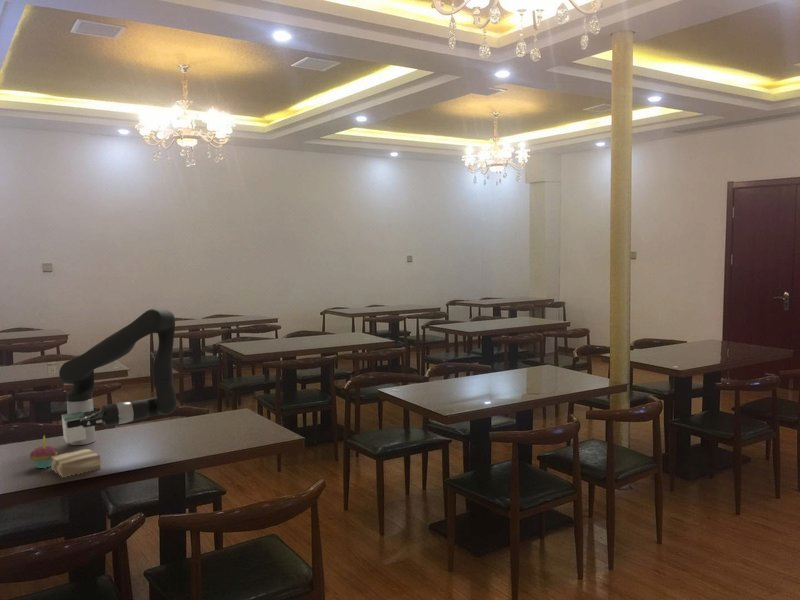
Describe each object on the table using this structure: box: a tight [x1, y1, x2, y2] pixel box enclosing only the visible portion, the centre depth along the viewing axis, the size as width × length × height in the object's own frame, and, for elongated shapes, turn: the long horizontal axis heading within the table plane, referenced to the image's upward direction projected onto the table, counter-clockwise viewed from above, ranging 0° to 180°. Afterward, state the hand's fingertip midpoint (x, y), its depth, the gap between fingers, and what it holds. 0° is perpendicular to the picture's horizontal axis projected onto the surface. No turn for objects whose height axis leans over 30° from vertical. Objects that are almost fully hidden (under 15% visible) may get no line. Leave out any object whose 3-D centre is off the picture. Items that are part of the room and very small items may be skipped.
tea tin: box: [61, 412, 86, 444], centre depth 222 cm, size 6×6×8 cm
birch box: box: [51, 448, 101, 478], centre depth 223 cm, size 12×12×5 cm
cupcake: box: [29, 434, 59, 469], centre depth 226 cm, size 9×8×12 cm
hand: (65, 423), depth 221 cm, fingers closed on tea tin, 6 cm apart
